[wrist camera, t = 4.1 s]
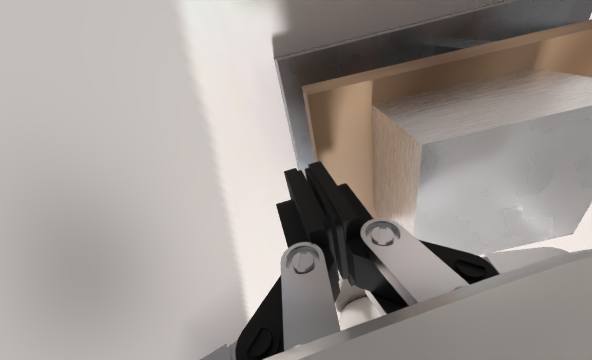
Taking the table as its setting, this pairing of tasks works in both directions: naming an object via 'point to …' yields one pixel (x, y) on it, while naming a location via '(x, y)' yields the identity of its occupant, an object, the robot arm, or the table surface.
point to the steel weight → (486, 160)
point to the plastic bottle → (358, 313)
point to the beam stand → (412, 50)
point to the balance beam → (417, 79)
